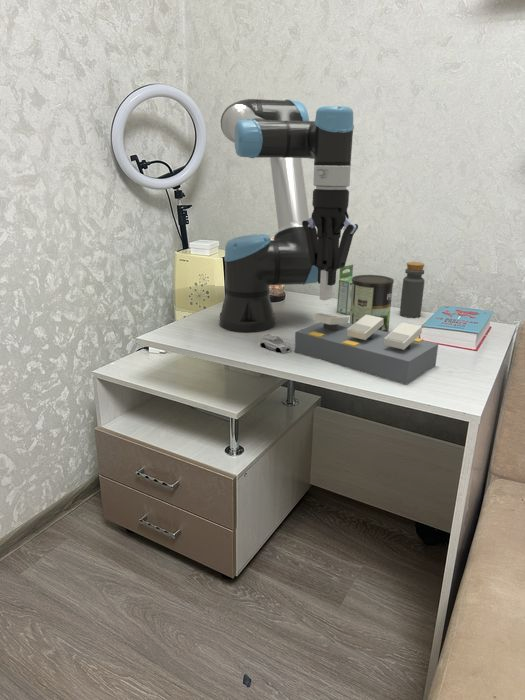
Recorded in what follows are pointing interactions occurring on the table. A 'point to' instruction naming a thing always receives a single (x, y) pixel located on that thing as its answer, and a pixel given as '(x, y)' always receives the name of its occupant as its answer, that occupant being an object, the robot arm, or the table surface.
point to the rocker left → (330, 318)
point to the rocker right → (403, 335)
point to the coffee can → (371, 298)
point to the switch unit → (366, 352)
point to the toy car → (275, 344)
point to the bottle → (412, 290)
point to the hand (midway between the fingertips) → (325, 298)
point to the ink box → (345, 290)
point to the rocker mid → (365, 327)
